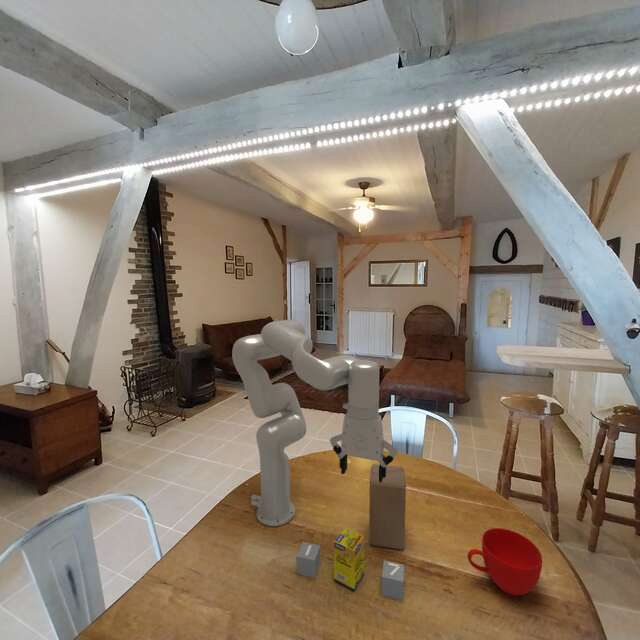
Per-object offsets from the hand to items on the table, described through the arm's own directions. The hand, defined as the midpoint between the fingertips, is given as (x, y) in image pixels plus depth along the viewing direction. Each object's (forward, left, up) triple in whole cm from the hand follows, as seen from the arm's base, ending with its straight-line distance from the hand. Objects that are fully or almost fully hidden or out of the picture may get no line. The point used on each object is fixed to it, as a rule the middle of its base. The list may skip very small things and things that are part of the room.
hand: (362, 475), depth 83 cm
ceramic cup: (+34, +6, -27) cm, 44 cm away
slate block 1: (-14, -3, -27) cm, 30 cm away
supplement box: (-3, -3, -27) cm, 27 cm away
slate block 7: (+8, -3, -27) cm, 28 cm away
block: (+5, +14, -27) cm, 31 cm away
